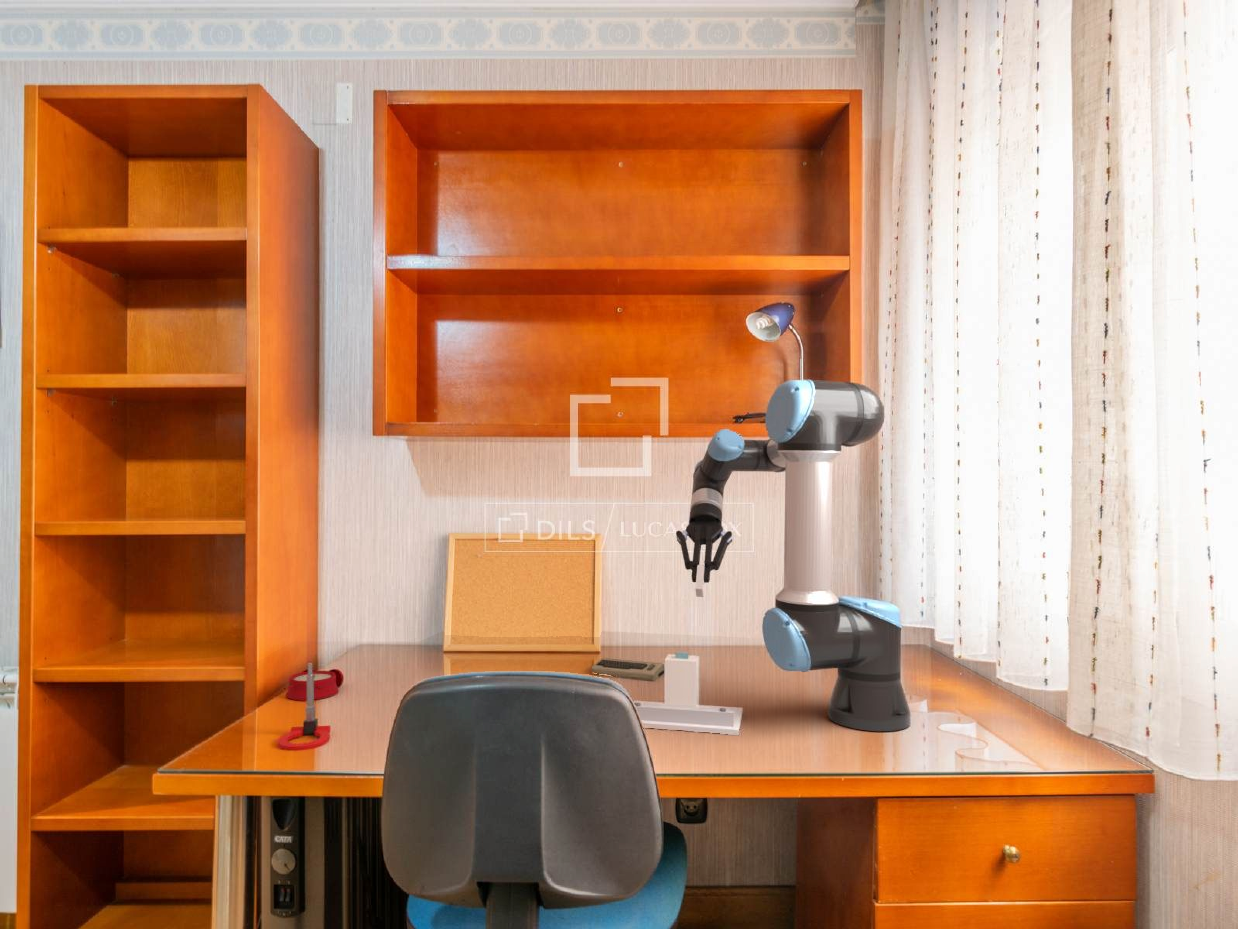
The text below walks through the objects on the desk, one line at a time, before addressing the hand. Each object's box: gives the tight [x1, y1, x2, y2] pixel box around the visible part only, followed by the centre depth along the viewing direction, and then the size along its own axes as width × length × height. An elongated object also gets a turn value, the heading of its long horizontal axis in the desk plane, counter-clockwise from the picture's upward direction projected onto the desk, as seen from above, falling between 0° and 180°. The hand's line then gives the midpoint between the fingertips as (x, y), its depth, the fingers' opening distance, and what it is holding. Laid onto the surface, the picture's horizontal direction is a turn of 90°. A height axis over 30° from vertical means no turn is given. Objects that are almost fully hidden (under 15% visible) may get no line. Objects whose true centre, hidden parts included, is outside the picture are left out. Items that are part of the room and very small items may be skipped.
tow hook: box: [277, 662, 331, 751], centre depth 137 cm, size 8×13×9 cm
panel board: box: [633, 700, 744, 736], centre depth 150 cm, size 22×14×4 cm, turn 78°
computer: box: [590, 657, 665, 682], centre depth 185 cm, size 16×8×3 cm, turn 68°
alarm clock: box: [283, 668, 345, 702], centre depth 168 cm, size 10×6×15 cm
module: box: [663, 651, 700, 708], centre depth 150 cm, size 6×5×12 cm
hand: (699, 592), depth 166 cm, fingers closed
